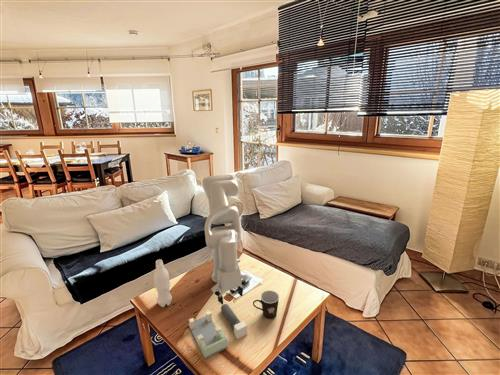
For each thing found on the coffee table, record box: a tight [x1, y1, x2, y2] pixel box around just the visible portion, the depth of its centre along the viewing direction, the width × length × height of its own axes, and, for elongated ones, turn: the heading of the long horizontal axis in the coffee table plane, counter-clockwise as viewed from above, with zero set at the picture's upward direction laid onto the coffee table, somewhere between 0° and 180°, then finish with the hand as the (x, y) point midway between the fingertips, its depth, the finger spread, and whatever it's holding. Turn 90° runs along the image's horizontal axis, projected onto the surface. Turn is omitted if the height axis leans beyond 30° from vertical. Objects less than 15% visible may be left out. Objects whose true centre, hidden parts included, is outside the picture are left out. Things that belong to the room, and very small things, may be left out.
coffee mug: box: [252, 290, 280, 320], centre depth 127 cm, size 12×9×10 cm
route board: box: [187, 310, 228, 360], centre depth 116 cm, size 10×20×5 cm, turn 31°
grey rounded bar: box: [220, 303, 248, 340], centre depth 123 cm, size 19×5×5 cm, turn 31°
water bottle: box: [153, 258, 173, 308], centre depth 133 cm, size 7×7×25 cm
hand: (230, 298), depth 120 cm, fingers open, 9 cm apart
